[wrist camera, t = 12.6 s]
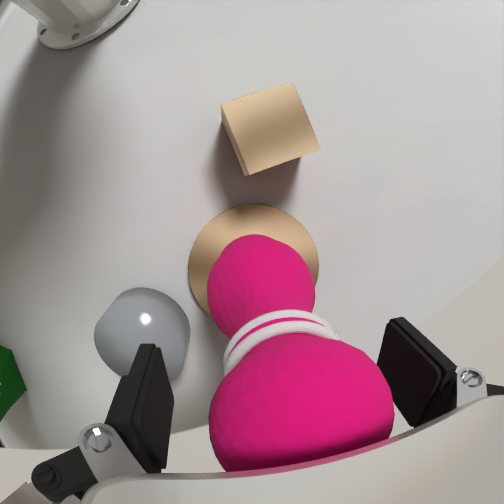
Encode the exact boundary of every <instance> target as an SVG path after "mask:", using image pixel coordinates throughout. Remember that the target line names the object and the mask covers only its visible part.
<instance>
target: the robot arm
mask: <svg viewBox="0 0 504 504" xmlns="http://www.w3.org/2000/svg"><path fill="white" fill-rule="evenodd" d="M11 1H12V2H14V3H15V4H16V5H18V6H19V7H21V8H22V9H23V10H25V11H26V12H28V13H29V14H30V15H32V16H33V17H34V18H36V19H37V20H38V25H37V34H38V37H39V39H40V41H41V42H42V43H43V44H45V45H46V46H47V47H50V48H52V49H60V50H62V49H69V48H73V47H76V46H79V45H82V44H84V43H86V42H89V41H91V40H93V39H94V38H96V37H98V36H100V35H101V34H103V33H104V32H106V31H107V30H109V29H110V28H112V27H113V26H114V25H115V24H117V23H118V22H119V21H120V20H121V19H123V18H124V17H125V16H126V15H127V14H128V13H129V12H130V11H131V10H132V8H133V7H134V6H135V4H136V3H137V2H138V0H11ZM377 366H378V367H379V369H380V370H381V372H382V374H383V376H384V378H385V379H386V381H387V383H388V385H389V387H390V390H391V394H392V398H393V402H394V403H395V405H396V406H397V408H398V409H399V411H400V412H401V414H402V415H403V417H404V418H405V419H406V421H407V422H408V424H409V425H410V426H411V427H414V429H411V430H409V431H407V432H404V433H402V434H399V435H397V436H394V437H392V438H389V439H386V440H383V441H380V442H378V443H375V444H372V445H369V446H366V447H362V448H359V449H356V450H353V451H349V452H346V453H342V454H338V455H334V456H331V457H326V458H322V459H318V460H313V461H308V462H303V463H298V464H293V465H287V466H281V467H274V468H267V469H258V470H248V471H236V472H221V473H161V469H165V468H166V465H167V455H168V445H169V437H170V429H171V421H172V414H173V406H174V396H173V392H172V389H171V385H170V382H169V378H168V374H167V371H166V367H165V363H164V359H163V355H162V351H161V348H160V347H156V345H155V344H154V343H141V344H140V345H139V348H138V350H137V353H136V356H135V358H134V361H133V363H132V366H131V369H130V371H129V374H128V375H123V376H122V378H121V380H120V382H119V385H118V387H117V390H116V393H115V395H114V398H113V401H112V403H111V406H110V409H109V412H108V415H107V417H106V420H105V423H104V424H102V423H97V424H92V425H89V426H87V427H86V428H84V429H83V430H82V431H81V433H80V435H79V437H78V444H79V446H77V447H75V448H73V449H71V450H69V451H67V452H65V453H63V454H60V455H58V456H56V457H54V458H52V459H49V460H47V461H45V462H42V463H40V464H39V465H37V466H36V467H35V468H34V470H33V472H32V477H31V479H32V482H31V483H30V484H28V483H27V482H25V483H24V484H23V485H22V486H21V487H20V488H18V489H17V490H16V491H15V492H13V493H12V494H11V495H10V496H8V497H7V498H6V499H5V500H4V501H3V502H1V503H0V504H504V387H503V386H497V385H491V384H486V380H485V377H484V375H483V374H482V373H481V372H480V371H478V370H476V369H474V368H463V369H461V370H460V371H459V372H458V374H457V373H456V372H455V370H456V368H457V366H456V365H455V364H454V363H453V362H452V361H451V360H450V359H449V358H448V357H447V356H446V355H444V354H443V353H442V352H441V351H440V350H439V349H438V348H437V347H436V346H435V345H434V344H433V343H431V342H430V341H429V340H428V339H427V338H426V337H425V336H424V335H423V334H421V332H420V331H418V330H417V329H416V328H415V327H414V326H413V325H412V324H411V323H409V322H408V321H407V320H406V319H405V318H404V317H398V318H394V319H391V320H390V321H389V323H387V325H386V328H385V333H384V337H383V341H382V345H381V349H380V354H379V357H378V361H377Z"/></svg>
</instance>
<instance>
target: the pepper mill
mask: <svg viewBox="0 0 504 504" xmlns="http://www.w3.org/2000/svg"><path fill="white" fill-rule="evenodd" d="M207 302H208V306H209V310H210V313H211V315H212V317H213V319H214V321H215V323H216V324H217V326H218V327H219V328H220V330H221V331H222V332H223V333H224V334H225V335H227V336H228V337H229V338H230V339H231V340H230V342H229V343H228V345H227V347H226V350H225V353H224V358H223V369H224V372H223V380H222V382H221V383H220V385H219V386H218V388H217V391H216V393H215V395H214V397H213V399H212V401H211V404H210V411H209V433H210V440H211V443H212V447H213V449H214V453H215V456H216V457H217V459H218V461H219V463H220V464H221V466H222V467H223V469H224V470H225V471H226V472H236V471H248V470H258V469H267V468H274V467H281V466H287V465H293V464H298V463H303V462H308V461H313V460H318V459H322V458H326V457H331V456H334V455H338V454H342V453H346V452H349V451H353V450H356V449H359V448H362V447H366V446H369V445H372V444H375V443H378V442H380V441H383V440H386V439H388V438H389V436H390V434H391V431H392V427H393V421H394V415H395V414H394V406H393V398H392V394H391V390H390V387H389V385H388V383H387V381H386V379H385V378H384V376H383V374H382V372H381V370H380V369H379V367H378V366H377V365H376V364H375V363H374V362H373V361H372V360H371V359H370V358H369V357H368V356H367V355H366V354H365V353H364V352H363V351H362V350H359V349H357V348H355V347H353V346H351V345H349V344H346V343H344V342H342V341H341V340H340V338H339V337H338V336H337V335H336V333H335V331H334V330H333V328H332V327H331V326H330V325H329V324H328V323H327V322H326V321H325V320H323V319H322V318H321V317H319V316H317V315H315V314H312V310H313V307H314V303H315V287H314V280H313V277H312V274H311V271H310V269H309V267H308V266H307V264H306V263H305V261H304V260H303V258H302V257H301V255H300V254H299V253H298V252H297V251H296V250H294V249H293V248H292V247H290V246H289V245H287V244H285V243H283V242H281V241H278V240H274V239H273V238H271V237H268V236H265V235H260V234H250V235H245V236H241V237H239V238H237V239H235V240H233V241H232V242H230V243H229V244H228V245H227V246H226V247H225V248H224V249H223V251H222V252H221V254H220V256H219V258H218V259H217V260H216V262H215V263H214V265H213V267H212V269H211V271H210V273H209V277H208V280H207Z"/></svg>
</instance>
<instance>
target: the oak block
mask: <svg viewBox="0 0 504 504" xmlns="http://www.w3.org/2000/svg"><path fill="white" fill-rule="evenodd" d="M221 115H222V122H223V125H224V127H225V130H226V132H227V134H228V137H229V139H230V142H231V144H232V147H233V149H234V152H235V154H236V157H237V159H238V162H239V164H240V167H241V169H242V172H243V174H244V176H248V175H251V174H254V173H256V172H259V171H262V170H265V169H267V168H270V167H273V166H275V165H278V164H281V163H284V162H287V161H289V160H292V159H295V158H298V157H301V156H304V155H307V154H310V153H313V152H316V151H319V150H321V149H320V146H319V144H318V141H317V139H316V136H315V133H314V131H313V128H312V126H311V123H310V121H309V118H308V116H307V113H306V111H305V109H304V106H303V104H302V102H301V99H300V97H299V95H298V92H297V90H296V88H295V86H294V84H293V83H289V84H285V85H281V86H278V87H274V88H270V89H267V90H264V91H260V92H257V93H254V94H251V95H247V96H244V97H241V98H238V99H235V100H232V101H230V102H227V103H224V104H221Z"/></svg>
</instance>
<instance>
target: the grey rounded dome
mask: <svg viewBox="0 0 504 504" xmlns="http://www.w3.org/2000/svg"><path fill="white" fill-rule="evenodd" d="M189 338H190V325H189V321H188V318H187V316H186V314H185V313H184V311H183V310H182V308H181V307H180V306H179V305H178V304H177V303H176V302H175V301H174V300H173V299H172V298H170V297H169V296H167V295H166V294H164V293H162V292H159V291H157V290H154V289H150V288H133V289H129V290H127V291H125V292H123V293H121V294H120V295H119V296H118V297H117V298H116V299H115V301H114V302H113V303H112V304H111V306H110V307H109V308H108V310H107V311H106V312H105V313H104V315H103V316H102V317H101V318H100V320H99V321H98V323H97V325H96V327H95V331H94V341H95V345H96V348H97V351H98V353H99V355H100V356H101V358H102V360H103V361H104V362H105V363H106V364H107V366H108V367H109V368H110V369H112V370H113V371H114V372H115V373H117V374H118V375H119V376H121V377H122V376H123V375H128V374H129V371H130V369H131V366H132V363H133V361H134V358H135V356H136V353H137V350H138V348H139V345H140V344H141V343H154V344H155V345H156V347H160V348H161V351H162V355H163V359H164V363H165V367H166V371H167V374H168V378H169V382H170V381H172V380H173V379H175V378H176V377H177V376H178V375H179V373H180V372H181V370H182V367H183V363H184V359H185V354H186V350H187V346H188V342H189Z"/></svg>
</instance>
